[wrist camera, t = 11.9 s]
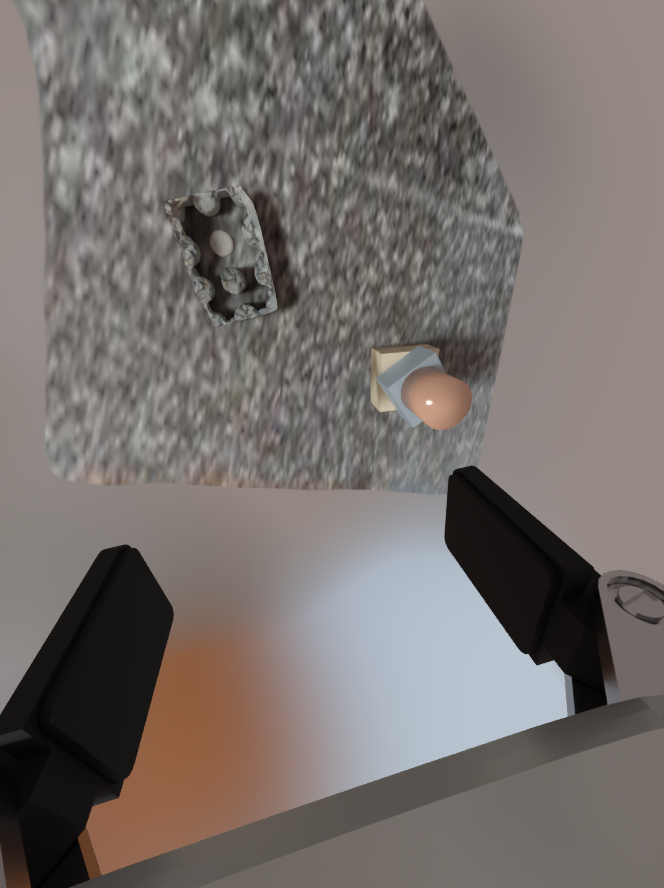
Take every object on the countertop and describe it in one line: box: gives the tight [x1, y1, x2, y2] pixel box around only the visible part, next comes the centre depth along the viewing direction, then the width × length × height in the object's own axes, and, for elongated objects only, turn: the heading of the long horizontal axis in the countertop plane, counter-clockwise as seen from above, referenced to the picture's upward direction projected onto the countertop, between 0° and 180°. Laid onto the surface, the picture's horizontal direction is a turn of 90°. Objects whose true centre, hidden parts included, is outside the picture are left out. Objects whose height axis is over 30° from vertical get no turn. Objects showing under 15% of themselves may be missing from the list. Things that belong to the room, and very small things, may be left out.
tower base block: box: [371, 344, 439, 412], centre depth 39 cm, size 7×7×4 cm
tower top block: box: [376, 346, 446, 428], centre depth 35 cm, size 6×6×4 cm
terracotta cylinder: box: [401, 367, 472, 430], centre depth 31 cm, size 5×5×5 cm
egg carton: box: [164, 186, 277, 326], centre depth 30 cm, size 11×8×4 cm
